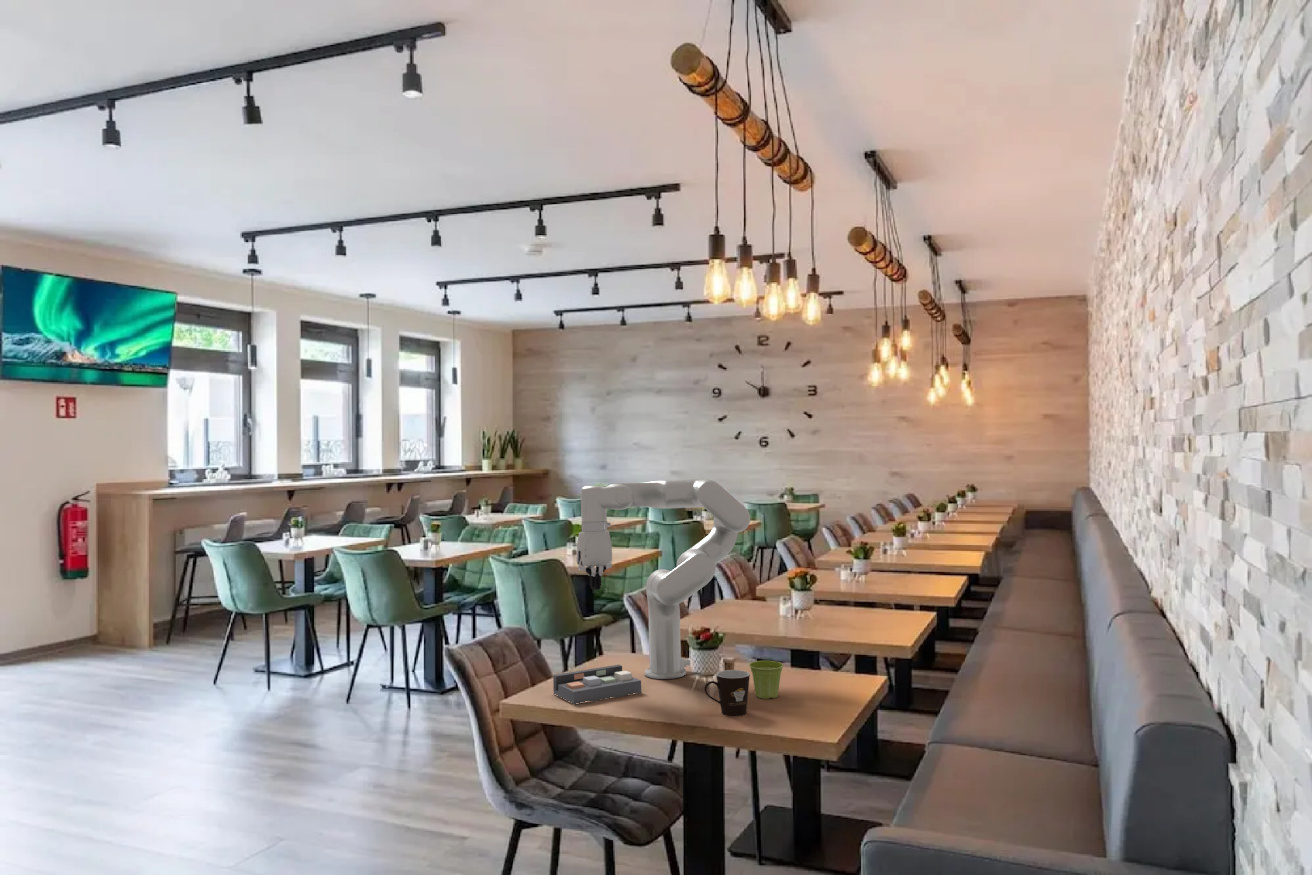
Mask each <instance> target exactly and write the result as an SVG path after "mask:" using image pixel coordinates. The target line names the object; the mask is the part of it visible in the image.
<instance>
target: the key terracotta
mask: <svg viewBox="0 0 1312 875" xmlns="http://www.w3.org/2000/svg"><path fill="white" fill-rule="evenodd" d="M567 687H568V688H570V689H576V688H582V687H584V684H583V683H581V682H573V683H567Z"/></svg>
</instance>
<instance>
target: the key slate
mask: <svg viewBox="0 0 1312 875" xmlns="http://www.w3.org/2000/svg"><path fill="white" fill-rule="evenodd" d="M583 684H584V685H586V686H594V685H600V678H599V677H596V676H589V677H583Z"/></svg>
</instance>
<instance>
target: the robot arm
mask: <svg viewBox="0 0 1312 875" xmlns="http://www.w3.org/2000/svg"><path fill="white" fill-rule="evenodd" d="M580 507H581V508H580V510H581V512H580V513H581V514H580V515H581V516H580V517H581V531H580V532H578V536H577V544H576V555H575V556H576V557H575V558H576V564H577V565H578V567H577V569H578V571H581V572H585V573H587V575H588V576H589V587H590V590H594V591H597V590H601V586H602V576H603V574H604V572H605V571H606V570H608V569H611V568H613V565H612V563H613V548H612V547H613V546H612V542H611V541H612V540H611V535H610V531H609V530H608V528H610V527H611V524H612V523H611V522H610V521H609V522H608V519H607V518H608V516H607V510H614V511H615V510H617V511H621V510H626V509H628V508H636V507H637V508H639V507H641V508H652V509H664V510H666V509H684V508H685V509H686V508H687V509H688V508H704V509H705V510H706V511H707V512H708V513H709V514H711V516H712V518H713V519H712V520H713V524H712V528H711V531H710V532H709V533H708V535H706V536H705V537H704V538H703V539H701V540H700V541H698V542H697V543H696V544H694V545H693V546H692V547H689V549H688V550H686V551H684V552H682V554H681V555H680V556H679V557H678V558H677V561H676V567H675V568H674V569H672V570H669V569H664V568H663V569H662V568H661V569H657V570H654V571H653V572H652V573H651V574H650V575H649V576H648V578H647V581H646V588H645V591H646V599H647V607H648V608H647V609H648V612H647V613H648V644H649V645H648V647H649V648H648V650H649V656H648V657H649V668H646V669H645V670H644V675H645V677H647V678H650V679H657V680H669V679H671V680H672V679H679V678H682V677H684V675H685V676H686V674H687V669H686V667H687V666H691V665H690V659H691V658H683V657H682V654H681V653H682V652H681V651H682V647H681V611H680V609H681V608H680V604H681V603H683V602H685V601H686V600H688V599H689V598H690V597H692V596H693V595H694V594H695V593H697V592H698V591H699V590H701V589H702V588H704V587H705V586H707V585H708V584H709V582H711V581H712V579H713V578H714V576H715V573H716V571H717V564H718V563H719V562H721V561H722V560H723V559H724V558H726V557H727V556H728V555H729V554H730V553H731V552H732V550H733V549H734V547H735V544H736V542H737V538H738V533H741V532H743V531H745V530H746V529H747V528H748V527H749V526H750V523H751V516H750V513H749V511H748V509H747V508H746V506H744V505H743V504H742V503H741V502H740V501H739V500H738V499H737V498H735V497H734V496H733V495H732V494H730V492H728V490H726V489H725V488H724V487H723V486H722V485H721V484H719V483H718V482H717V481H714V480H711V479H704V478H702V479H701V478H700V479H698V478H697V479H695V478H694V479H678V480H677V479H675V480H673V479H672V480H655V481H648V482H647V481H645V482H625V483H624V482H623V483H620V482H619V483H611V484H609V485H607V486H603V485H586V486H583V487H582V488H581V490H580Z"/></svg>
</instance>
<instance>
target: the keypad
mask: <svg viewBox="0 0 1312 875" xmlns="http://www.w3.org/2000/svg"><path fill="white" fill-rule="evenodd" d="M620 671H623V665H621V664H614V665H607V666H602V667H595V668H588V669H582V670H576V671H570V672H563V673H558V674H552V675H553V676H552V677H553V678H552V679H553V681H552V682H553V686H552V688H553V695H554V694H556V695H558V696H559V697H562V698H564V699H566V700H567V701H570V702H572V703H573V704H576V703H580V702H585V701H593V702H596V701H595V700H599V701H601V700H600V699H604V700H606V699H605V698H610V697H616V698H621V697H626V696H625V695H627V696H629V695H628V694H633V693H638V694H642V680H641V679H638V678H636V677H634V676H632V679H630V680H624V681H619V680H616V682H612V683H606V684H604V683H601V682H600V685H594V686H586V685H584V687H582V688H576V689H570V688H568V687H567V683H573V682H581V683H583V677H589V676H596V677H599V678H603V677H609V676H611V677H613V678H615V673H614V672H620ZM556 695H555V696H556ZM633 695H634V694H633ZM558 696H557V697H558ZM620 696H621V697H620ZM559 697H558V698H559ZM610 699H611V698H610ZM567 701H566V702H567ZM573 704H572V705H573ZM576 705H577V704H576Z"/></svg>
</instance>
